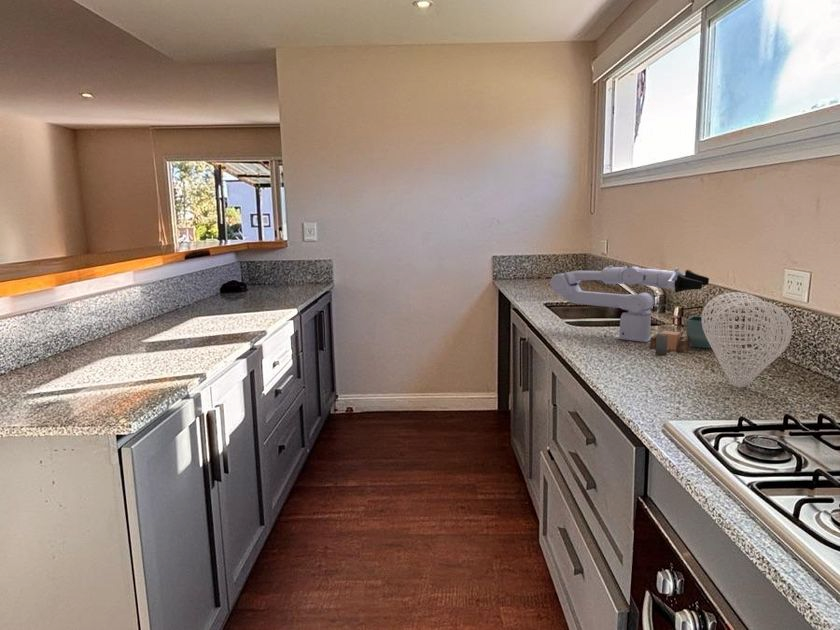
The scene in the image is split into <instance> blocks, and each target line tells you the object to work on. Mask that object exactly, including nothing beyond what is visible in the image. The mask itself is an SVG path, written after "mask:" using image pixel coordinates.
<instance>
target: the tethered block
mask: <svg viewBox="0 0 840 630" xmlns="http://www.w3.org/2000/svg"><path fill="white" fill-rule="evenodd" d="M656 334H657V336H656V348H655V355H657V356H667V355H668V351H673V352H674V351H677V350H679V349H680V336H682V332H680V331H671V330H670V331H669V330H662V331H661V332H660V333H656ZM678 348H679V349H678Z"/></svg>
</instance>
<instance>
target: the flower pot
mask: <svg viewBox="0 0 840 630" xmlns="http://www.w3.org/2000/svg"><path fill="white" fill-rule="evenodd" d="M701 319H702V316H696V315H693V316H689V318H687V319H686V320H685V322H686V337H690V346H691V347H693V348H701V347H702V348H701V349H710V348H711V346H710V344H709V342H708V340H707V338H706V336H705V333H704V331H703V328H702V321H701ZM707 320H709V317H708V319H707ZM711 320H712V317H711ZM717 320H718V319H717ZM719 321H720V320H719ZM704 323H705V322H704ZM707 323H708V322H707ZM719 325H720V322H719ZM708 328H709V327H708ZM715 329H716V326H715ZM719 329H720V326H719ZM706 332H707V330H706ZM708 332H709V330H708ZM715 332H716V330H715ZM710 335H711V334H710ZM716 339H717V337H716Z"/></svg>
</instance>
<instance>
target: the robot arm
mask: <svg viewBox="0 0 840 630" xmlns="http://www.w3.org/2000/svg"><path fill="white" fill-rule="evenodd" d="M684 272H685V273H682V272H680V271H679V267H675V268H674V270H665V269H657V268H643V267H642V268H641V267H639V266H635V265H633V266H630V267H628V266H627V265H623V266H614V265H608V266H607V267H604V268H603V269H602V270H574V271H566V272H562V273H555V274H554V275H552V276H551V278H550V286H551V288H552V290H553V292H554V293H555V294H557V295H560V296H561V297H563V298H564V299H565V300H567V301H568V302H570V303H572V304H574V305H575V304H577V305H585V306H587V305H588V306H595V307H605V308H606V307H607V308H617V309H621V310H623V311H628V312H622V314H621V316H620V319H619V320H620V321H619V333H618V334H619V336H618V339H619V340H627V341H634V342H644V343H648V342H650V337H651V323H652V320H651V319H652V311H651V309H652V308H653V306H655V305H654V304H655V299H654V297H653V295H652V294H650V292H649V293H648V292H645V291H644V292H640V293H637V294H633V293H631V294H628V293H627V294H624V293H623V294H622V293H612V292H611V293H610V292H600V291H590V290H589V291H587V290H582V289H581V287H580V284H579V283H581V282H582V281H602V282H603V283H604V284H605V285H608V284H609V285H610V284H612V285H616V284H617V285H622V284H623V285H624V284H626V285H628V286H633V285H635V284H636V285H643V286H646V287H647V286H648V287H654V288H655V287H656V288H662V289H671V290H674V293H679V292H683V291H684V292H685V291H690V290H691V291H693V290H701V289H703V286H708V285H709V283H710V277H708V276H704V275H701V274H698V273H695V272H693V271H691V270H690V269H686V270H685V271H684Z"/></svg>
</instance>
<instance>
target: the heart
mask: <svg viewBox="0 0 840 630" xmlns="http://www.w3.org/2000/svg"><path fill="white" fill-rule="evenodd" d="M723 301H724V302H723ZM746 304H747V305H746ZM756 308H757V309H758V310H757V309H756ZM743 309H744V311H745V312H742V311H743ZM749 310H750V312H748V311H749ZM762 310H763V311H764V312H762ZM733 311H734V312H733ZM736 311H737V312H736ZM751 311H752V312H751ZM726 315H727V316H726ZM755 315H756V316H755ZM742 316H743V317H744V318H745V319H744V321H741V320H742ZM701 317H702V319H701V321H702V328H703V331H704V333H705V336H706V338H707V340H708V342H709V344H710V346H711V347H710V348H711V350H712V351H713V354H714V355H715V357H716V360H717V361H718V363H719V365H720V367H721V368H722V369H721V370H723V373H724V374H725V376H726V377H727V379H728V381H729V382H730V383H731V385H732V386H734V387H735V388H739V389H741V388H743V387H746V386H747V385H749V384H750V383H752V381H753V380H755V378H757V376H758V375H760V374H761V373H762V372H763V371H764V370H765V368H767V367H768V366H769V365H771V364H772V363H773V362H775V361H776V359H777V358H779V357H780V356H781V355H782V353H784V351H785V350H786V349H787V348H788V346H789V344H790V341H791V340H792V339H791V338H792V335H793V334H792V333H793V324H792V321H791V318H790V317H789V315H788V314H787V313H786V312H785V311H784V310H783V309H782V308H780V306H778V305H776V304H774V303H771V302H768V301H765V300H762V299H761V298H758V297H757V296H755V295H753V294H750V293H746V292H741V291H740V292H739V291H733V292H732V291H731V292H726V293H722V294H719V295H717V296H716V297H714V298H712V299H710V301H708V302H707V303H706V305H705V306H704V308H703V309H702V312H701ZM736 317H738V321H736ZM708 318H709V320H707V319H708ZM711 318H712V320H711ZM749 318H750V321H749ZM717 319H718V320H717ZM730 319H731V320H730ZM719 320H720V321H719ZM704 322H705V323H704ZM707 322H708V323H707ZM719 322H720V325H719ZM742 325H744V329H742ZM763 325H765V326H763ZM715 326H716V329H715ZM719 326H720V329H719ZM730 326H732V327H731V328H730ZM736 326H738V328H735V327H736ZM752 326H753V327H752ZM708 327H709V328H708ZM758 327H759V330H758ZM752 328H753V330H752ZM706 330H707V332H706ZM708 330H709V332H708ZM715 330H716V332H715ZM710 334H711V335H710ZM736 335H738V336H736ZM742 335H744V336H742ZM716 337H717V339H716ZM758 337H759V338H758ZM737 339H738V340H737ZM742 339H744V340H742ZM748 339H749V341H748ZM742 345H744V348H743V346H742ZM748 345H750V346H751V347H748ZM737 346H738V347H737ZM757 347H758V348H757ZM755 348H757V349H755ZM734 351H735V353H734ZM740 351H741V354H740ZM738 357H739V358H740V359H739V358H738ZM738 362H739V363H738ZM735 369H736V370H735Z"/></svg>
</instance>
